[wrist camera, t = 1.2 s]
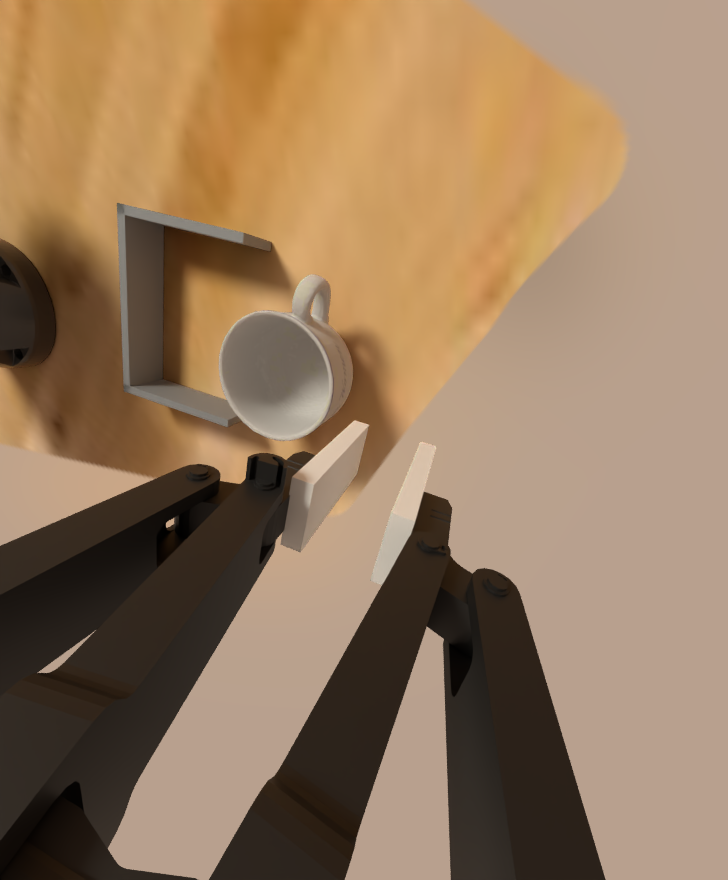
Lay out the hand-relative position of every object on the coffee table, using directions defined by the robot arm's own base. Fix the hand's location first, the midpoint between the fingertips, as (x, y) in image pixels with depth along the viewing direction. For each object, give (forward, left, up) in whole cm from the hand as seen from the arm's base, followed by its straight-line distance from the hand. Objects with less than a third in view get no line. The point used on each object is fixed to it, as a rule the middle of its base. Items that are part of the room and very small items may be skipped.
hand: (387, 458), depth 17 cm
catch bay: (-24, 0, -19) cm, 30 cm away
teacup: (-11, 0, -19) cm, 22 cm away
